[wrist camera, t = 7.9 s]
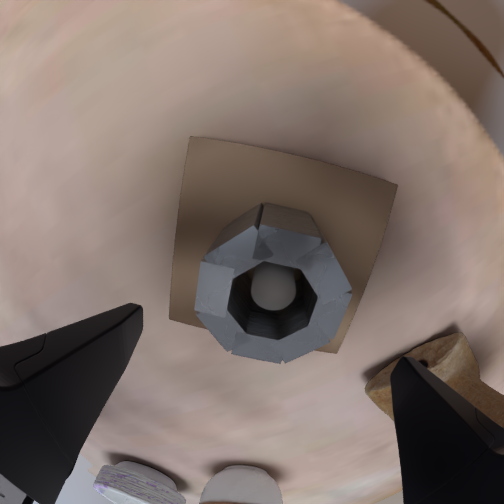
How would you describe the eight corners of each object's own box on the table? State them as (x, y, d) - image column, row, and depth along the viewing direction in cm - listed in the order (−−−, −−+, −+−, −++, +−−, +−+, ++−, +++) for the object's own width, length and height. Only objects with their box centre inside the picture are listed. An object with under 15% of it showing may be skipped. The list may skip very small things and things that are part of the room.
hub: (310, 316, 17) (319, 369, 13) (211, 295, 17) (190, 344, 13) (341, 220, 15) (368, 249, 10) (229, 194, 15) (207, 213, 10)
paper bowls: (99, 439, 31) (80, 475, 23) (190, 472, 30) (179, 514, 23) (116, 472, 36) (103, 500, 28) (189, 496, 36) (181, 528, 28)
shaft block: (333, 341, 20) (346, 394, 14) (175, 308, 20) (147, 355, 15) (388, 182, 15) (432, 196, 10) (197, 137, 16) (162, 131, 10)
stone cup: (490, 373, 20) (541, 461, 6) (409, 430, 24) (437, 530, 10) (468, 289, 17) (575, 412, 3) (356, 373, 21) (392, 536, 7)
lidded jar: (200, 453, 27) (184, 513, 19) (286, 458, 26) (284, 523, 18) (213, 482, 31) (202, 530, 22) (283, 486, 30) (281, 536, 21)
